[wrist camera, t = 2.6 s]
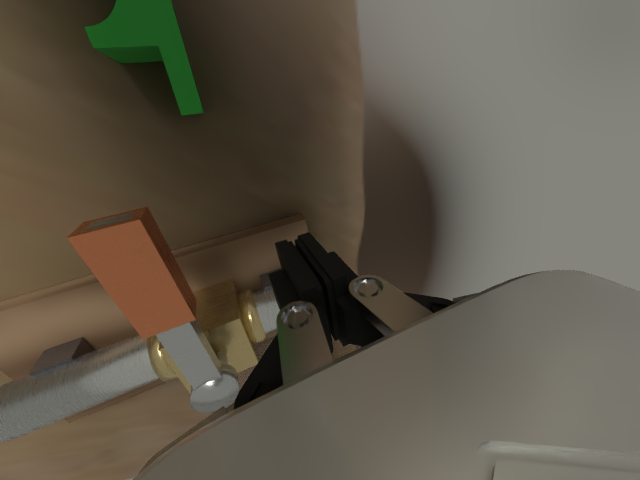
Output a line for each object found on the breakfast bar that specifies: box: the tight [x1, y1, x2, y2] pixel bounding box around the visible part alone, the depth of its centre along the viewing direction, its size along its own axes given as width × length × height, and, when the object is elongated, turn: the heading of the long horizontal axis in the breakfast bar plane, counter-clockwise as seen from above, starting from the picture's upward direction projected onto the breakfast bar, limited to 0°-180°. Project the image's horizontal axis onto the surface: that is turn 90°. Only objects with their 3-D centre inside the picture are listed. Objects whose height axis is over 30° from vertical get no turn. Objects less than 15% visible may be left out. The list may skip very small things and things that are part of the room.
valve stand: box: [0, 213, 308, 423], centre depth 22 cm, size 12×24×2 cm, turn 99°
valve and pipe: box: [0, 268, 281, 441], centre depth 20 cm, size 5×22×5 cm, turn 99°
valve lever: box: [67, 207, 239, 412], centre depth 14 cm, size 13×3×3 cm, turn 9°
